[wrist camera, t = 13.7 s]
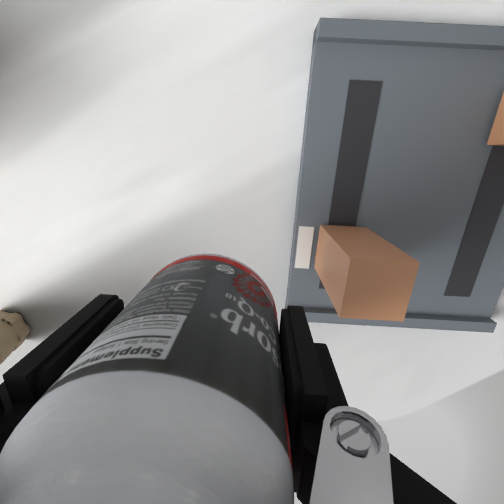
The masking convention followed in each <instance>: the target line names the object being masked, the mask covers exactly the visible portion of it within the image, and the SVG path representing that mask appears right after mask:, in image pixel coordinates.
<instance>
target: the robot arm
mask: <svg viewBox="0 0 504 504" xmlns="http://www.w3.org/2000/svg"><path fill="white" fill-rule="evenodd" d="M123 309H124V303H123V300H121V299H119V297H118V296H117V295H106V294H100V295H98V296H97V297H96V298H95V299H93V300H92V301H91V302H90V303H89V304H87V305H86V306H85V307H84V308H83V309H81V310H80V311H79V312H78V313H77V314H75V315H74V316H73V317H72V318H71V319H69V320H68V321H67V322H66V323H65V324H63V325H62V326H61V327H60V328H59V329H57V330H56V331H55V332H54V333H53V334H51V335H50V336H49V337H48V338H47V339H45V340H44V341H43V342H42V343H41V344H39V345H38V346H37V347H36V348H35V349H33V350H32V351H31V352H30V353H29V354H27V355H26V356H25V357H24V358H22V359H21V360H20V361H19V362H18V363H16V364H15V365H14V366H13V367H12V368H10V369H9V370H8V371H7V372H6V373H4V374H3V379H4V382H3V383H2V384H0V453H1V451H2V449H3V447H4V445H5V443H6V441H7V440H8V438H9V437H10V435H11V434H12V432H13V431H14V429H15V428H16V426H17V425H18V424H19V422H20V421H21V420H22V419H23V418H24V417H25V415H26V414H27V413H28V412H29V411H30V409H31V408H32V407H33V406H34V405H35V403H36V402H37V401H38V400H39V399H40V398H41V397H42V396H43V395H44V394H45V392H46V391H47V390H48V389H49V388H50V387H51V386H52V385H53V384H54V383H55V382H56V381H57V380H58V379H59V378H60V377H61V376H62V374H63V373H64V372H65V371H66V370H67V369H68V368H69V367H70V366H71V365H72V364H73V363H74V362H75V361H76V360H77V359H78V358H79V357H80V355H81V354H82V353H83V352H84V351H85V350H86V349H87V348H88V347H89V346H90V345H91V344H92V342H93V341H94V340H95V339H96V338H97V337H98V336H99V335H100V334H101V333H102V332H103V331H104V330H105V329H106V328H107V326H108V325H109V324H110V323H111V322H112V321H113V320H114V319H115V318H116V317H117V316H118V315H119V314H120V313H121V311H122V310H123ZM279 339H280V351H281V362H282V372H283V378H284V390H285V401H286V410H287V419H288V429H289V437H290V449H291V458H292V467H293V486H294V492H296V493H297V498H298V499H299V500H300V501H301V502H302V504H457V503H455V502H454V501H452V500H451V499H450V498H449V497H447V496H446V495H445V494H443V493H442V492H441V491H439V490H438V489H437V488H435V487H434V486H433V485H431V484H430V483H429V482H427V481H426V480H425V479H423V478H422V477H421V476H419V475H418V474H417V473H415V472H414V471H413V470H411V469H410V468H409V467H407V466H406V465H405V464H404V463H402V462H401V461H400V460H398V459H397V458H396V457H394V456H393V455H392V454H390V453H389V444H388V441H387V436H386V435H385V433H384V431H383V429H382V427H381V426H380V425H379V424H378V423H377V422H376V421H375V420H374V419H373V418H372V417H371V416H369V415H368V414H367V413H365V412H363V411H361V410H359V409H357V408H353V407H349V406H348V404H347V401H346V398H345V395H344V392H343V390H342V387H341V384H340V381H339V378H338V376H337V373H336V370H335V367H334V364H333V362H332V359H331V356H330V353H329V350H328V348H327V346H326V344H323V343H313V339H312V336H311V332H310V329H309V325H308V322H307V318H306V315H305V311H304V308H303V306H293V305H288V306H287V309H282V311H281V320H280V331H279Z"/></svg>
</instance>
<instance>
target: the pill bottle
mask: <svg viewBox="0 0 504 504" xmlns="http://www.w3.org/2000/svg"><path fill="white" fill-rule="evenodd" d="M0 504H294V486H293V467H292V458H291V449H290V437H289V429H288V419H287V410H286V401H285V390H284V378H283V372H282V362H281V351H280V339H279V329H278V320H277V312H276V307H275V303H274V300H273V297H272V294H271V292H270V290H269V288H268V287H267V285H266V284H265V282H264V281H263V280H262V279H261V278H260V276H259V275H258V274H257V273H256V272H254V271H253V270H252V269H251V268H249V267H248V266H246V265H245V264H243V263H241V262H239V261H237V260H235V259H232V258H229V257H226V256H222V255H216V254H196V255H190V256H187V257H183V258H181V259H178V260H176V261H174V262H172V263H170V264H169V265H167V266H166V267H164V268H163V269H162V270H161V271H159V272H158V273H157V274H156V275H155V276H154V277H153V278H152V279H151V280H150V282H149V283H148V284H147V285H146V286H145V287H144V288H143V289H142V290H141V291H140V292H139V293H138V294H137V296H136V297H135V298H134V299H133V300H132V301H131V302H130V303H129V304H128V305H127V306H126V307H125V308H124V309H123V310H122V311H121V313H120V314H119V315H118V316H117V317H116V318H115V319H114V320H113V321H112V322H111V323H110V324H109V325H108V326H107V328H106V329H105V330H104V331H103V332H102V333H101V334H100V335H99V336H98V337H97V338H96V339H95V340H94V341H93V342H92V344H91V345H90V346H89V347H88V348H87V349H86V350H85V351H84V352H83V353H82V354H81V355H80V357H79V358H78V359H77V360H76V361H75V362H74V363H73V364H72V365H71V366H70V367H69V368H68V369H67V370H66V371H65V372H64V373H63V374H62V376H61V377H60V378H59V379H58V380H57V381H56V382H55V383H54V384H53V385H52V386H51V387H50V388H49V389H48V390H47V391H46V392H45V394H44V395H43V396H42V397H41V398H40V399H39V400H38V401H37V402H36V403H35V405H34V406H33V407H32V408H31V409H30V411H29V412H28V413H27V414H26V415H25V417H24V418H23V419H22V420H21V421H20V422H19V424H18V425H17V426H16V428H15V429H14V431H13V432H12V434H11V435H10V437H9V438H8V440H7V441H6V443H5V445H4V447H3V449H2V451H1V453H0Z"/></svg>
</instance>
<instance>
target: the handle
mask: <svg viewBox="0 0 504 504" xmlns="http://www.w3.org/2000/svg"><path fill="white" fill-rule="evenodd" d="M29 333H30V327H29V326H27V325H26V323H25V322H24V321H23V318H22V316H21V315H20V314H18V313H15V312H14V313H7V312H4V311H2V310H0V364H1V363H2V362H3V361H4V360H5V359H6V358H7V357H8V356H9V355H10V354H11V353H12V351H14V350H16V349H17V348H18V347H19V346H20V345H21V344H22V343H23V342H24V340H25V337H26V336H27V335H28V334H29Z"/></svg>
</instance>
